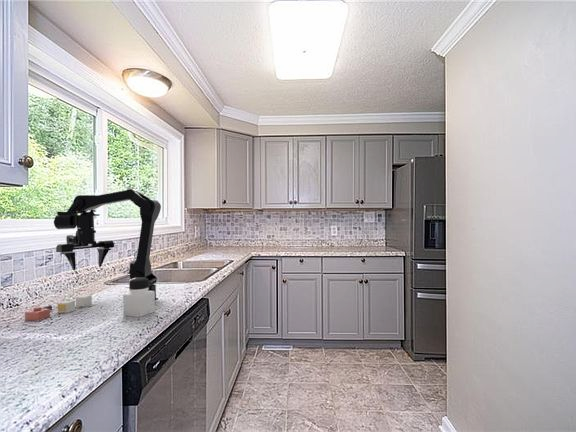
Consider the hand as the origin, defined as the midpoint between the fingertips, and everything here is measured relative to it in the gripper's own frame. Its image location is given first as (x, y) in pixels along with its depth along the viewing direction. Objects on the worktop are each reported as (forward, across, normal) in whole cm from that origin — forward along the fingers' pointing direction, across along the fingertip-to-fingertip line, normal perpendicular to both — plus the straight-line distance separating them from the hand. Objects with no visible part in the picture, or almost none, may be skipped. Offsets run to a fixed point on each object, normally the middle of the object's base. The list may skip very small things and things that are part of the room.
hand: (87, 268), depth 131 cm
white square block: (+12, +5, +8) cm, 15 cm away
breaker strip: (+13, +10, +8) cm, 18 cm away
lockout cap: (+13, +20, +14) cm, 28 cm away
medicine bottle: (+14, -4, +31) cm, 34 cm away
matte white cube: (+12, +12, +12) cm, 21 cm away
